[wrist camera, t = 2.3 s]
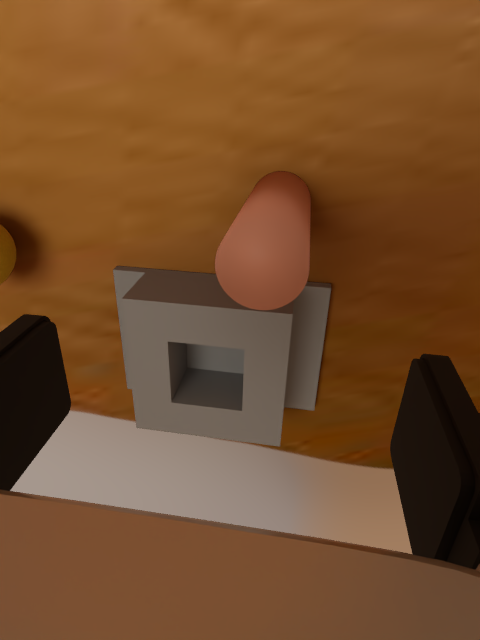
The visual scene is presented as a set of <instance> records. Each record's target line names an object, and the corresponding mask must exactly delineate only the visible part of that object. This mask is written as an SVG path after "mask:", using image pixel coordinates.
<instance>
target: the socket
mask: <svg viewBox="0 0 480 640" xmlns="http://www.w3.org/2000/svg"><path fill="white" fill-rule="evenodd" d="M113 274H114V282H115V290H116V298H117V306H118V314H119V323H120V331H121V339H122V347H123V355H124V364H125V372H126V380H127V388H128V389H132V392H133V401H134V409H135V418H136V427H137V428H142V429H150V430H157V431H165V432H173V433H181V434H189V435H196V436H204V437H211V438H219V439H227V440H235V441H242V442H250V443H258V444H265V445H273V446H280V440H281V430H282V420H283V409H284V407H288V408H296V409H305V410H313V411H314V407H315V400H316V393H317V386H318V379H319V372H320V365H321V358H322V350H323V343H324V336H325V329H326V322H327V315H328V308H329V301H330V293H331V284H328V283H316V282H307V283H306V285H305V287H304V289H303V290H302V292H301V293H300V294H299V295H298V296H297V297H296V298H295V299H294V300H293V301H292V302H290V303H288V304H287V305H285V306H283V307H280V308H277V309H272V310H256V309H251V308H248V307H245V306H243V305H241V304H239V303H237V302H236V301H234V300H233V299H232V298H231V297H229V296H228V295H227V293H226V292H225V291H224V290H223V288H222V287H221V285H220V283H219V281H218V278H217V275H216V274H208V273H196V272H184V271H172V270H160V269H148V268H136V267H124V266H117V267H116V268H114V269H113Z"/></svg>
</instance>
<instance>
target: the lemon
mask: <svg viewBox="0 0 480 640" xmlns="http://www.w3.org/2000/svg"><path fill="white" fill-rule="evenodd" d="M16 257H17V255H16V247H15V243H14V241H13V239H12V237H11V235H10V234H9V232H8V231H7V230H6V229H5V228H4V227H3V226H2V225H1V224H0V284H2V283H3V282H4V281H5V280H6V279H7V278H8V277H9V275H10V274H11V272H12V270H13V269H14V266H15V262H16Z"/></svg>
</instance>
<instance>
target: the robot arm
mask: <svg viewBox="0 0 480 640" xmlns="http://www.w3.org/2000/svg"><path fill="white" fill-rule="evenodd" d="M70 407H71V399H70V394H69V389H68V384H67V379H66V374H65V369H64V364H63V359H62V354H61V349H60V344H59V339H58V334H57V329H56V325H55V324H54V323H53V322H51V321H50V319H49V318H48V317H46V316H39V315H29V314H24V315H22V316H21V317H20V318H18V319H17V320H16V321H14V322H13V323H12V324H10V325H9V326H8V327H7V328H5V329H4V330H3V331H1V332H0V640H480V413H478V411H477V410H476V408H475V406H474V404H473V402H472V400H471V398H470V396H469V394H468V392H467V390H466V388H465V387H464V385H463V383H462V381H461V379H460V377H459V375H458V373H457V371H456V369H455V367H454V365H453V364H452V362H451V360H450V358H449V357H448V356H441V355H431V354H423V355H422V356H421V357H420V359H413V361H412V363H411V366H410V370H409V374H408V378H407V382H406V386H405V389H404V393H403V397H402V401H401V405H400V409H399V412H398V416H397V420H396V424H395V428H394V432H393V435H392V439H391V447H390V451H391V458H392V463H393V467H394V472H395V476H396V481H397V485H398V490H399V494H400V499H401V504H402V508H403V512H404V517H405V522H406V526H407V531H408V535H409V540H410V545H411V549H412V553H413V555H412V554H408V553H403V552H398V551H392V550H386V549H381V548H375V547H368V546H363V545H357V544H351V543H345V542H340V541H334V540H328V539H322V538H316V537H310V536H302V535H296V534H291V533H284V532H278V531H271V530H265V529H258V528H252V527H246V526H239V525H233V524H226V523H220V522H214V521H207V520H201V519H194V518H188V517H181V516H175V515H168V514H161V513H155V512H148V511H142V510H135V509H128V508H121V507H114V506H108V505H101V504H95V503H88V502H81V501H75V500H68V499H61V498H54V497H46V496H40V495H33V494H26V493H20V492H13V491H10V490H11V488H12V487H13V486H14V484H15V483H16V482H17V480H18V479H19V478H20V476H21V475H22V474H23V473H24V471H25V470H26V469H27V467H28V466H29V464H30V463H31V462H32V461H33V459H34V458H35V457H36V455H37V454H38V453H39V451H40V450H41V449H42V447H43V446H44V445H45V444H46V442H47V441H48V440H49V438H50V437H51V436H52V434H53V433H54V432H55V430H56V429H57V428H58V426H59V425H60V424H61V422H62V421H63V420H64V418H65V417H66V416H67V414H68V413H69V410H70Z"/></svg>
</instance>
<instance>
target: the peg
mask: <svg viewBox="0 0 480 640" xmlns="http://www.w3.org/2000/svg"><path fill="white" fill-rule="evenodd" d="M310 221H311V196H310V192H309V189H308V187H307V185H306V184H305V183H304V181H303V180H302V179H301V178H299V177H298V176H296V175H295V174H292V173H290V172H285V171H277V172H273V173H270V174H268V175H266V176H264V177H263V178H262V179H260V180H259V181H258V183H257V184H256V185H255V187H254V189H253V190H252V192H251V194H250V195H249V197H248V199H247V200H246V202H245V204H244V205H243V207H242V209H241V210H240V212H239V214H238V215H237V217H236V219H235V220H234V222H233V223H232V225H231V227H230V228H229V230H228V232H227V233H226V235H225V237H224V238H223V240H222V242H221V244H220V245H219V247H218V250H217V253H216V258H215V270H216V275H217V278H218V281H219V283H220V285H221V287H222V288H223V290H224V291H225V292H226V293H227V295H228V296H229V297H231V298H232V299H233V300H234V301H236V302H237V303H239V304H241V305H243V306H245V307H248V308H251V309H256V310H272V309H277V308H280V307H283V306H285V305H287V304H288V303H290V302H292V301H293V300H294V299H295V298H296V297H297V296H298V295H299V294H300V293H301V292H302V290H303V289H304V287H305V285H306V283H307V280H308V276H309V267H310Z"/></svg>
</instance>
